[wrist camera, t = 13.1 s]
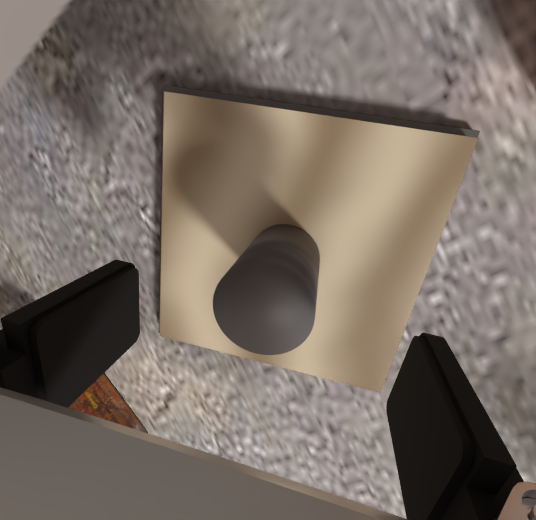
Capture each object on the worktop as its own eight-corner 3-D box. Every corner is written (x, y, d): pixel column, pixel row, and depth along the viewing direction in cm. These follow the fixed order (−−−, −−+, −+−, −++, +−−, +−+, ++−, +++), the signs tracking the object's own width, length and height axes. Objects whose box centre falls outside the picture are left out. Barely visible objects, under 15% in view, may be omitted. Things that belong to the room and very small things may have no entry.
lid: (468, 138, 14) (583, 131, 8) (378, 381, 20) (401, 493, 13) (173, 94, 16) (68, 58, 10) (167, 327, 22) (97, 404, 15)
